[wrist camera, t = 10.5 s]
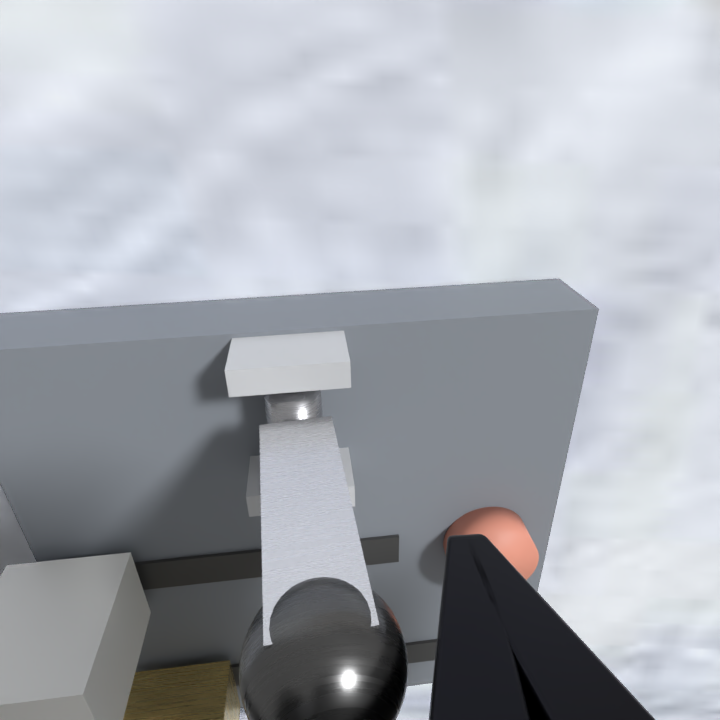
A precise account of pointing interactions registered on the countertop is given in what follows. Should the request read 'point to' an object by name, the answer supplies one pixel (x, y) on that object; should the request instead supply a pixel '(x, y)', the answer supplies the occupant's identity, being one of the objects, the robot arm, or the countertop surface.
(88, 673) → the white block
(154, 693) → the brushed brass brick
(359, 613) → the toggle lever
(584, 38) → the countertop surface
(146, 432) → the panel
